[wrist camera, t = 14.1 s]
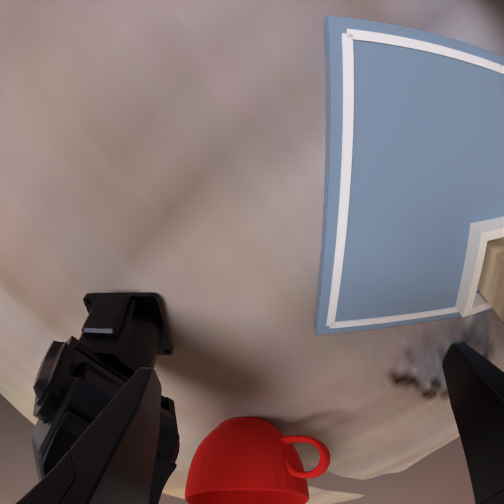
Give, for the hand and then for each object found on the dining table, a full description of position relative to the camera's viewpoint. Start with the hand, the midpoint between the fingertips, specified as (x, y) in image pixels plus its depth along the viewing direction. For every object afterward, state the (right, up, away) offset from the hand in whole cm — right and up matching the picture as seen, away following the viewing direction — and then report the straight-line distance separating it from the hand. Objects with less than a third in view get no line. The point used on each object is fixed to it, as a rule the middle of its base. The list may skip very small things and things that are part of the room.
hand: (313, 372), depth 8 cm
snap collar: (+19, +3, +13) cm, 23 cm away
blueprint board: (+14, +7, +11) cm, 19 cm away
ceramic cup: (-1, -16, +25) cm, 30 cm away
